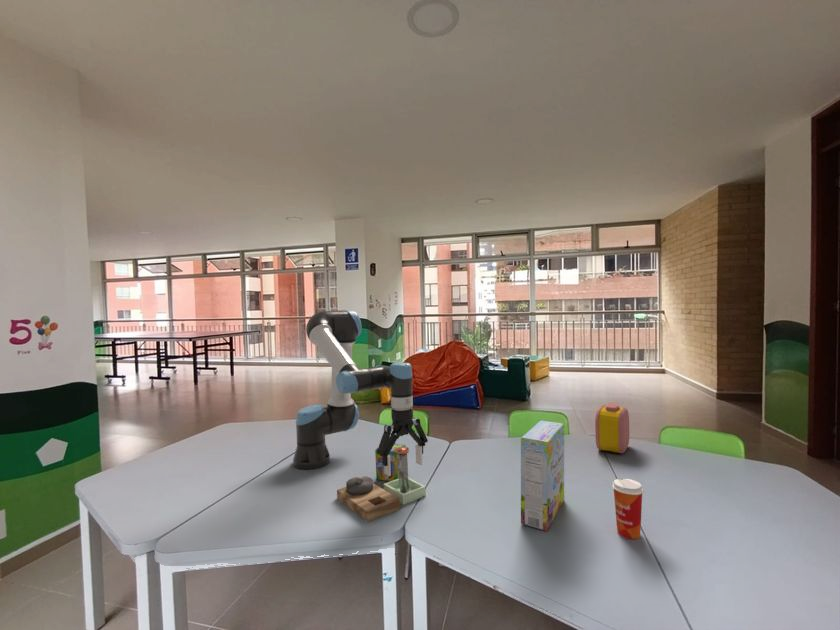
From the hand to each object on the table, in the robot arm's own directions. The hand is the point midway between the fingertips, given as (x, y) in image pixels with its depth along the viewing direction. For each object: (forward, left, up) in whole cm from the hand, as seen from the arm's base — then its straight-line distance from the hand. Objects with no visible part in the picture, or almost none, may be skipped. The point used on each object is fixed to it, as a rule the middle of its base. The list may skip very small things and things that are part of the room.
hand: (403, 469), depth 136 cm
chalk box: (-15, +5, -9) cm, 18 cm away
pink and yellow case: (+28, +94, -9) cm, 98 cm away
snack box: (+39, +25, -9) cm, 47 cm away
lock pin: (0, 0, -8) cm, 8 cm away
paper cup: (+61, +32, -9) cm, 69 cm away
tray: (0, 0, -9) cm, 9 cm away
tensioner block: (-3, -13, -9) cm, 16 cm away
